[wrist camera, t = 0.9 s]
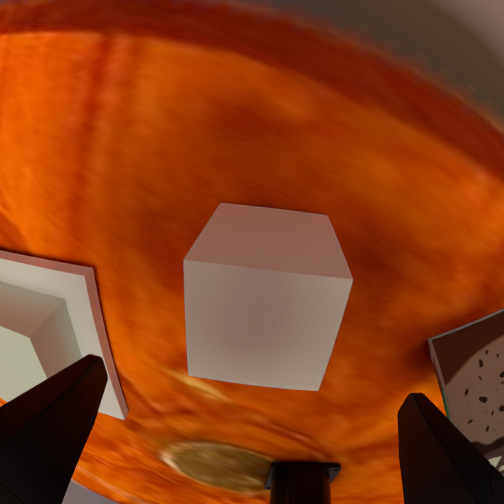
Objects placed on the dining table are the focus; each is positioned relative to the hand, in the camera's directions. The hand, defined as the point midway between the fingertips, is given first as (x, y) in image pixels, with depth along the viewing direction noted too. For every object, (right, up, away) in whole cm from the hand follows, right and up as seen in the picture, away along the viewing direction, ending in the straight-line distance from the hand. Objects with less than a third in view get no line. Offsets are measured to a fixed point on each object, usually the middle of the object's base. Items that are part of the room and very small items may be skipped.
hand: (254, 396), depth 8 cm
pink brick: (+1, +4, +8) cm, 9 cm away
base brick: (-17, -3, +11) cm, 21 cm away
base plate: (-17, -3, +12) cm, 21 cm away
